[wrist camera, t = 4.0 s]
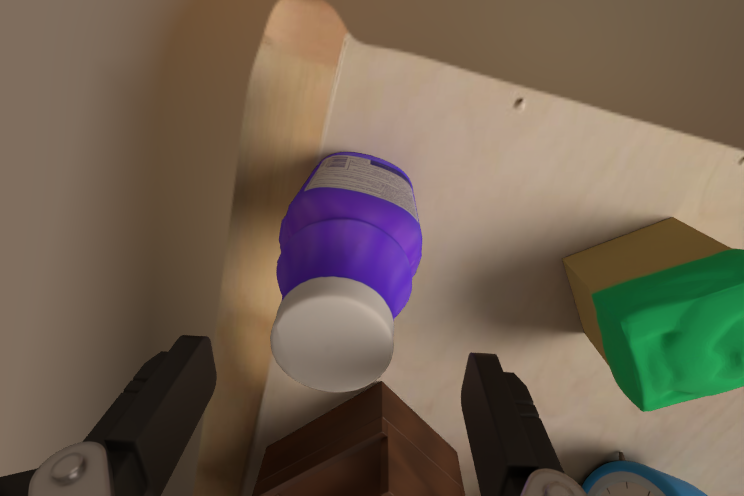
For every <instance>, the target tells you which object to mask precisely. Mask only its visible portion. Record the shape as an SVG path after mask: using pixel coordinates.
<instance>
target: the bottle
mask: <svg viewBox="0 0 744 496" xmlns="http://www.w3.org/2000/svg"><path fill="white" fill-rule="evenodd" d="M279 243H280V249H281V255H280V257H279V259H278V261H277V263H278V264H277V280H278V284H279V288H280V291H281V294H282V302H281V304H280V306H279V309H278V312H277V316H276V319H275V321H274V324H273V327H272V331H271V337H270V339H271V349H272V353H273V355H274V358H275V360H276V362H277V363H278V365H279V366H280V367H281V368H282V370H283V371H284V372H285V373H287V374H288V375H289V376H290V377H291V378H293V379H294V380H295V381H297V382H299V383H301V384H303V385H305V386H307V387H310V388H313V389H316V390H320V391H326V392H348V391H354V390H357V389H360V388H363V387H365V386H367V385H369V384H371V383H372V382H374V381H375V380H377V379H378V378H379V377H380V376H381V375H382V374H383V372H384V371H385V370H386V369H387V367H388V365H389V363H390V361H391V358H392V354H393V336H394V318H395V317H396V316H397V315H398V314H399V313H400V312H401V310H402V309H403V308H404V307H405V305H406V303H407V302H408V300H409V297H410V294H411V291H412V277H413V276H414V275H415V273H416V270H417V268H418V265H419V262H420V259H421V256H422V254H421V250H422V234H421V229H420V224H419V219H418V214H417V209H416V204H415V199H414V194H413V188H412V184H411V182H410V179H409V178H408V176H407V175H406V174H405V173H404V172H403V171H402V170H401V169H399V168H398V167H396V166H395V165H393V164H391V163H389V162H387V161H385V160H382V159H380V158H377V157H374V156H371V155H366V154H362V153H355V152H339V153H334V154H331V155H329V156H327V157H326V158H324V159H323V160H322V161H321V162H320V163H319V164H318V165H317V166H316V168H315V169H314V170H313V172H312V174H311V175H310V176H309V178H308V179H307V181H306V182H305V184H304V185H303V186H302V188H301V190H300V191H299V192H298V194H297V195H296V196H295V198H294V199H293V201H292V202H291V204H290V205H289V208H288V211H287V214H286V216H285V217H284V219H283V220H282V223H281V229H280V235H279Z"/></svg>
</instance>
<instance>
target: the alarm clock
mask: <svg viewBox="0 0 744 496" xmlns="http://www.w3.org/2000/svg"><path fill="white" fill-rule="evenodd" d="M582 488H583V490H584V491H585V492H586V494H587V495H588V496H707V495H706V494H705V493H703V492H702V491H701V490H699V489H698V488H696V487H695V486H693V485H691V484H689V483H687V482H685V481H683V480H680V479H678V478H675V477H673V476H670V475H668V474H665V473H663V472H660V471H658V470H655V469H653V468H650V467H648V466H645V465H642V464H639V463H636V462H631V461H625V458H624V455H623V452H619V461H613V462H609V463H607V464H604V465H602V466H600V467H599V468H597V469H596V470H594V471H593V472H592V473H591V474H590V475H589V476H588V478H587V479H586V480H585V482H584V483H583V485H582Z"/></svg>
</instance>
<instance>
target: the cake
mask: <svg viewBox="0 0 744 496" xmlns="http://www.w3.org/2000/svg"><path fill="white" fill-rule="evenodd" d="M562 260H563V263H564V267H565V270H566V273H567V277H568V280H569V283H570V287H571V290H572V293H573V296H574V300H575V303H576V306H577V310H578V313H579V316H580V319H581V323H582V326H583V329H584V333H585V334H586V336H587V337H588V338H589V340H590V341H591V343H592V344H593V345H594V347H595V348H596V349H597V351H598V352H599V353H600V355H601V356H602V357H603V359H604V360H605V361H606V363H607V364H608V365H609V367H610V369H611V372H612V374H613V377H614V379H615V381H616V383H617V384H618V386H619V387H620V389H621V390H622V391H623V392H624V394H625V395H626V396H627V397H628V398H629V399H630V400H631V401H632V402H633V403H634V404H635V405H636V406H637V407H638V408H639V409H640V410H641V411H643V412H645V411H653V410H656V409H660V408H663V407H667V406H670V405H674V404H677V403H681V402H685V401H689V400H693V399H697V398H701V397H705V396H711V395H716V394H720V393H723V392H727V391H730V390H733V389H736V388H740V387H743V386H744V250H742V249H732V248H730V247H728V246H726V245H724V244H722V243H720V242H718V241H716V240H714V239H713V238H711V237H709V236H707V235H705V234H703V233H701V232H700V231H698V230H696V229H694V228H692V227H690V226H688V225H687V224H685V223H683V222H681V221H679V220H677V219H675V218H674V217H672V218H669V219H666V220H664V221H661V222H658V223H656V224H653V225H650V226H648V227H645V228H642V229H640V230H637V231H634V232H632V233H629V234H626V235H624V236H621V237H618V238H616V239H613V240H610V241H608V242H605V243H602V244H600V245H597V246H594V247H592V248H589V249H586V250H584V251H581V252H578V253H576V254H573V255H570V256H568V257H565V258H562Z"/></svg>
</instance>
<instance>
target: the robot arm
mask: <svg viewBox="0 0 744 496" xmlns="http://www.w3.org/2000/svg"><path fill="white" fill-rule="evenodd" d="M216 377H217V376H216V368H215V363H214V357H213V352H212V346H211V341H210V339H209V337H206V336H188V335H182V336H180V337H179V339H178V340H177V341H176V342H175V344H174V345H173V346H172V348H171V349H170V350H169V352H160V353H159V354H157V355H156V356H154V357H153V358H151V359H150V360H149V361H147V362H146V363H145V364H144V365H143V366H142V367H141V369H140V370H139V371H138V373H137V374H136V375H135V376H134V378H133V381H130V383H129V384H128V385H127V386H126V388H125V389H124V392H123V393H121V394H120V395H119V397H118V398H117V399H116V400H115V402H114V403H113V404H112V405H111V407H110V408H109V409H108V411H107V412H106V413H105V414H104V416H103V417H102V418H101V419H100V421H99V422H98V423H97V424H96V426H95V427H94V428H93V430H92V431H91V432H90V433H89V434H88V436H87V437H86V438H85V439H84V441H83V442H80V443H77V444H73V445H70V446H68V447H66V448H63V449H62V450H60V451H58V452H56V453H55V454H53V455H52V456H51V457H49V458H48V459H47V460H46V461H45V462H44V463H43V464H42V465H41V466H40V467H39V468H37V469H34V470H29V471H25V472H20V473H16V474H12V475H8V476H3V477H0V496H161V494H162V492H163V490H164V488H165V486H166V484H167V482H168V480H169V478H170V476H171V474H172V473H173V470H174V469H175V466H176V465H177V463H178V461H179V459H180V457H181V455H182V453H183V451H184V449H185V447H186V445H187V443H188V441H189V439H190V438H191V436H192V434H193V432H194V430H195V428H196V426H197V424H198V422H199V420H200V418H201V416H202V414H203V412H204V410H205V408H206V406H207V404H208V402H209V401H210V399H211V397H212V395H213V392H214V389H215V385H216ZM461 405H462V411H463V416H464V420H465V425H466V429H467V434H468V439H469V443H470V448H471V452H472V457H473V461H474V466H475V470H476V475H477V479H478V484H479V488H480V493H481V496H588V495H587V494H586V492H585V491H584V490H583V488H582V487H581V486H580V485H579V484H578V483H577V482H575V481H574V480H573V479H572V478H570V477H569V476H567V475H566V474H565V473H564V471H563V469H562V467H561V465H560V462H559V460H558V458H557V455H556V453H555V451H554V449H553V446H552V444H551V442H550V439H549V437H548V435H547V432H546V430H545V428H544V426H543V423H542V421H541V419H540V418H539V414H538V412H537V409H536V407H535V405H533V400H532V398H531V396H530V393H529V391H528V389H527V386H526V385H525V384H524V383H523V382H522V381H521V380H520V379H519V378H518V377H517V376H516V375H515V374H514V373H510V372H503V370H502V367H501V365H500V362H499V359H498V357H497V355H496V354H486V353H470V354H469V357H468V361H467V366H466V371H465V375H464V380H463V385H462V390H461Z"/></svg>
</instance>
